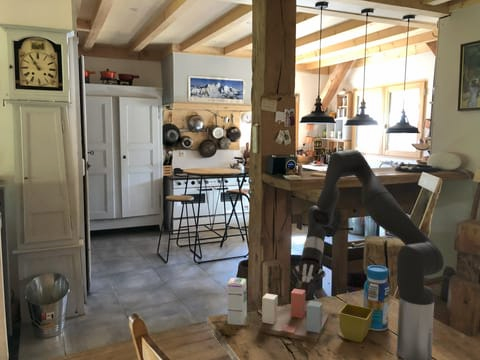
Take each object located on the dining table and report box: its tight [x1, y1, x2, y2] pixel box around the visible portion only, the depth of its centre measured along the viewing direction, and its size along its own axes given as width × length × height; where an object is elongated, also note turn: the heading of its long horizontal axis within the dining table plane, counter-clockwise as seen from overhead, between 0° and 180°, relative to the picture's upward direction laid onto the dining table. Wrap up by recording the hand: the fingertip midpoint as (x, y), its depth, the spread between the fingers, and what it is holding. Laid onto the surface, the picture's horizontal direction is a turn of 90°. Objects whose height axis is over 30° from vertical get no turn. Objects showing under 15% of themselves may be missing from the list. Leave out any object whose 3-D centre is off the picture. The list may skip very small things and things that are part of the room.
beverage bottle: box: [362, 264, 391, 332], centre depth 138 cm, size 8×8×20 cm
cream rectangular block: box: [261, 292, 279, 324], centre depth 138 cm, size 4×4×8 cm
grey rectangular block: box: [306, 300, 323, 333], centre depth 132 cm, size 4×4×8 cm
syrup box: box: [226, 277, 248, 326], centre depth 142 cm, size 6×6×14 cm
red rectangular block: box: [290, 288, 306, 318], centre depth 143 cm, size 4×4×8 cm
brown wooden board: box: [258, 305, 329, 344], centre depth 140 cm, size 19×18×2 cm
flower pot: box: [338, 303, 373, 344], centre depth 131 cm, size 9×9×9 cm
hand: (304, 293), depth 150 cm, fingers closed
